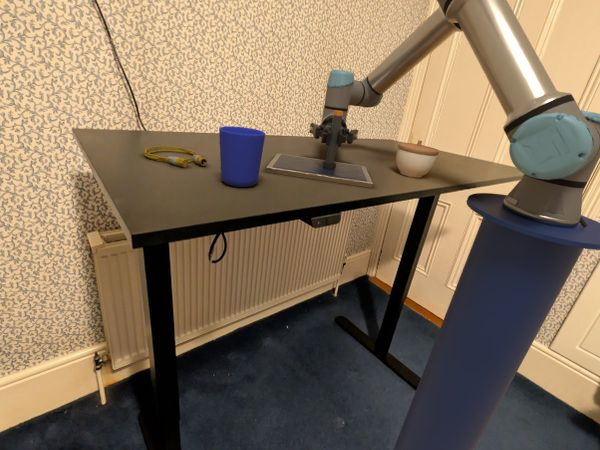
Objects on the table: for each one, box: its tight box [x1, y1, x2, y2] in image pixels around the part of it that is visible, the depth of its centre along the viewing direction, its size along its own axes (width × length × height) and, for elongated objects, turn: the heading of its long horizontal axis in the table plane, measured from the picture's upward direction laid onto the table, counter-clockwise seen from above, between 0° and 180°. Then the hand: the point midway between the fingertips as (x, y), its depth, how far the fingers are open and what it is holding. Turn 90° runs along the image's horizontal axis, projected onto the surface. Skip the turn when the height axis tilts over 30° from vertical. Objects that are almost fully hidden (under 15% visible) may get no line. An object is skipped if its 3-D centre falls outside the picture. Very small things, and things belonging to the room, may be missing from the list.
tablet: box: [265, 152, 374, 189], centre depth 80 cm, size 24×17×1 cm
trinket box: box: [395, 139, 440, 179], centre depth 88 cm, size 11×11×9 cm
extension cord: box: [144, 145, 208, 168], centre depth 72 cm, size 12×16×2 cm
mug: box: [218, 125, 266, 188], centre depth 62 cm, size 8×12×10 cm
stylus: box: [323, 110, 343, 169], centre depth 77 cm, size 3×3×13 cm
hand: (334, 140), depth 72 cm, fingers closed on stylus, 2 cm apart
